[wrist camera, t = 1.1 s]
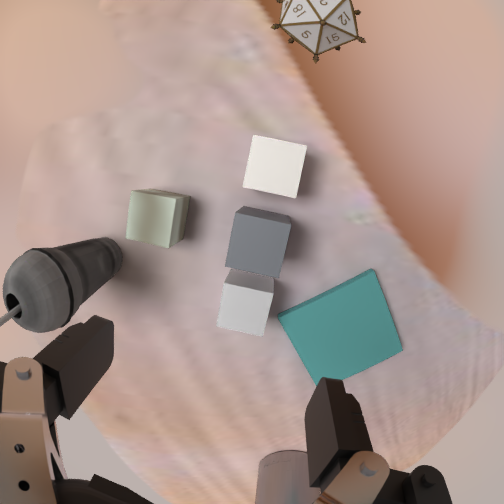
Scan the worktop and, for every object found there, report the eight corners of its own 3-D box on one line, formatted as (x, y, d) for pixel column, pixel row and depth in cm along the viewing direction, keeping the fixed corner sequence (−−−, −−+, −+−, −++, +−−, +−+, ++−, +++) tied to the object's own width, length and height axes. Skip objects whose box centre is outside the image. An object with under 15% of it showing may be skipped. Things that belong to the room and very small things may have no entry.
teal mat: (400, 346, 32) (402, 350, 31) (317, 384, 34) (318, 389, 33) (371, 268, 30) (374, 271, 29) (278, 314, 32) (277, 318, 31)
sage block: (190, 195, 30) (176, 198, 26) (183, 238, 31) (168, 248, 27) (150, 188, 30) (131, 190, 26) (144, 230, 31) (125, 238, 27)
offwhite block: (302, 151, 28) (307, 146, 24) (293, 195, 29) (295, 198, 25) (257, 141, 28) (253, 134, 24) (247, 185, 29) (242, 187, 25)
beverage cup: (141, 244, 32) (5, 321, 12) (121, 297, 33) (8, 395, 14) (92, 214, 31) (-52, 257, 12) (76, 267, 33) (-47, 335, 14)
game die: (294, 44, 28) (244, -14, 20) (359, 17, 24) (320, -50, 16) (314, 93, 26) (258, 23, 18) (393, 62, 22) (357, -21, 13)
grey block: (274, 277, 31) (273, 293, 27) (264, 316, 32) (262, 336, 28) (231, 268, 31) (223, 282, 27) (224, 307, 32) (216, 326, 28)
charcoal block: (288, 215, 30) (291, 224, 24) (278, 259, 31) (278, 278, 25) (243, 206, 30) (235, 212, 24) (235, 249, 31) (225, 266, 25)
